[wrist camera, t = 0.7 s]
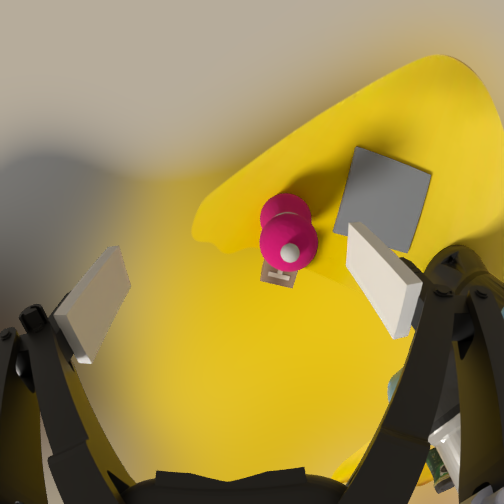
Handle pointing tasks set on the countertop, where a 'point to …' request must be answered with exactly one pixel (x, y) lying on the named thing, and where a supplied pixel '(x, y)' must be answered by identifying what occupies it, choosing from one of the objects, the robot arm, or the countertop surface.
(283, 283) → the marked cube
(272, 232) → the pepper mill
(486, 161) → the countertop surface
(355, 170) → the grey mat
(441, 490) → the coffee jar
